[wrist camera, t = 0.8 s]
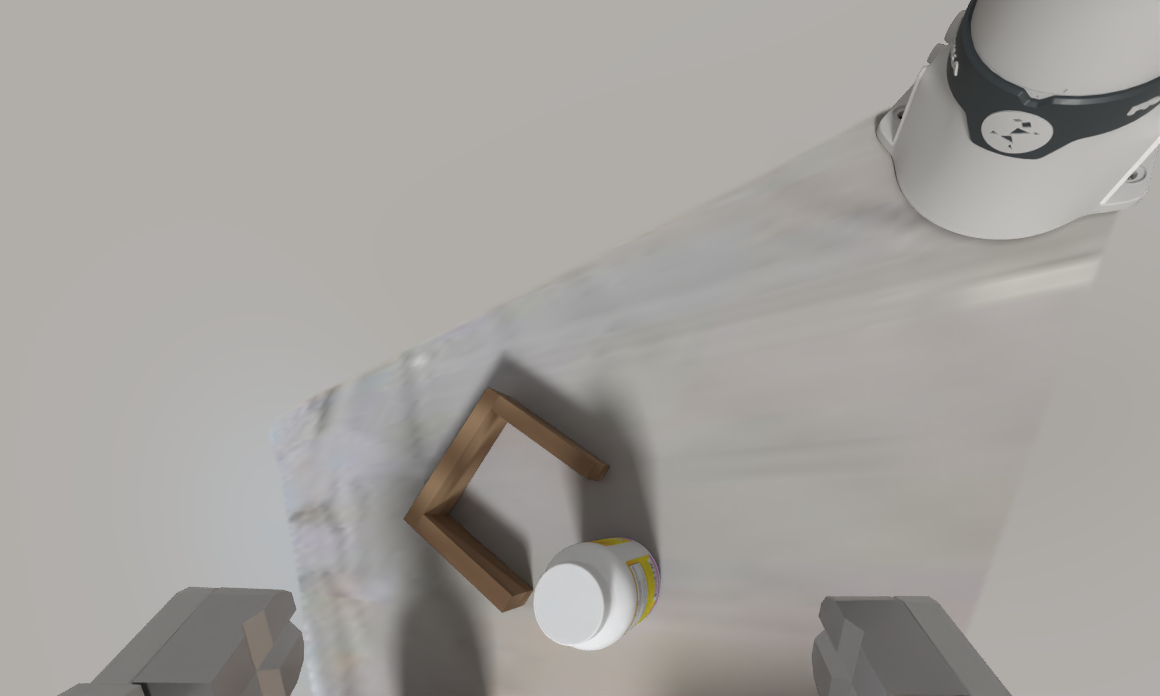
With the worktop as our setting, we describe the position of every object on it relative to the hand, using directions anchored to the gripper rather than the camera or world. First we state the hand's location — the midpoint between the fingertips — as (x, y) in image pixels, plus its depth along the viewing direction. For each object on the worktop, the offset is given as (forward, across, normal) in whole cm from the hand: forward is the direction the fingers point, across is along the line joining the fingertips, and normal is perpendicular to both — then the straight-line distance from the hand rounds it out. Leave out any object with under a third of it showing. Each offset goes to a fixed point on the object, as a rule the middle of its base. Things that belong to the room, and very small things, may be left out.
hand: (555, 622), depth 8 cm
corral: (+36, +6, +23) cm, 43 cm away
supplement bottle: (+29, -3, +26) cm, 39 cm away
